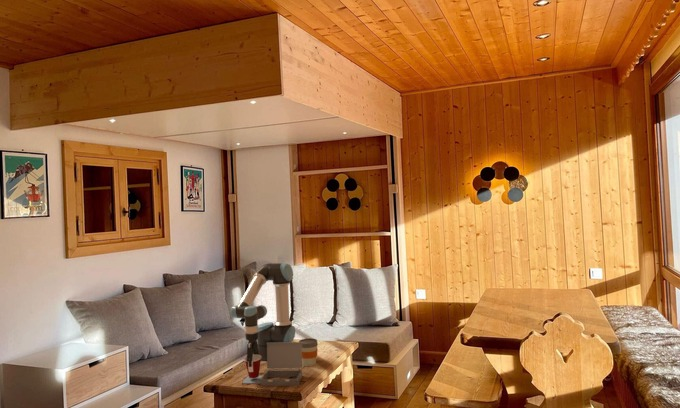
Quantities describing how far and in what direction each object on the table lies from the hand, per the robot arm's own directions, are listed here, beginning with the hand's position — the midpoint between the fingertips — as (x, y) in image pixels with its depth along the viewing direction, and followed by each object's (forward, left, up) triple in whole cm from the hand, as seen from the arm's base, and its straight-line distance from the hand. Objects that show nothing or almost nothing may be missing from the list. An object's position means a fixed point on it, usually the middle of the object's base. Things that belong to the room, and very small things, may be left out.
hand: (253, 368), depth 324 cm
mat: (0, 0, -7) cm, 7 cm away
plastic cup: (0, 0, -5) cm, 5 cm away
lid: (-7, +17, +5) cm, 20 cm away
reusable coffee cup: (-30, +29, -7) cm, 42 cm away
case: (+1, +18, -7) cm, 19 cm away
